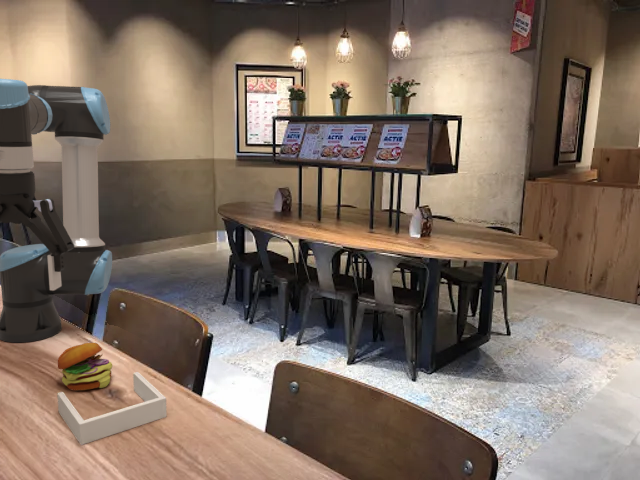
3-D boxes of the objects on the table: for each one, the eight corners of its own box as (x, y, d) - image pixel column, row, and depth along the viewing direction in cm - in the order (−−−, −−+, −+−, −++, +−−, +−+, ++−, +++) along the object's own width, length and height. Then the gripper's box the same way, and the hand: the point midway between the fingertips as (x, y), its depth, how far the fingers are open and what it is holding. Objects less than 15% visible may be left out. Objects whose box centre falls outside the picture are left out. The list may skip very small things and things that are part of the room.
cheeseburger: (91, 397, 110) (79, 352, 108) (53, 399, 114) (41, 355, 112) (124, 376, 119) (113, 334, 118) (88, 378, 123) (77, 337, 122)
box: (58, 411, 104) (57, 393, 103) (138, 388, 114) (137, 371, 114) (80, 445, 94) (79, 424, 93) (166, 416, 104) (166, 398, 103)
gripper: (-76, 168, 90) (-62, 288, 94) (69, 176, 89) (76, 296, 94) (-45, 165, 97) (-33, 276, 102) (89, 171, 96) (95, 283, 101)
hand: (19, 286), depth 98 cm, fingers open, 13 cm apart
